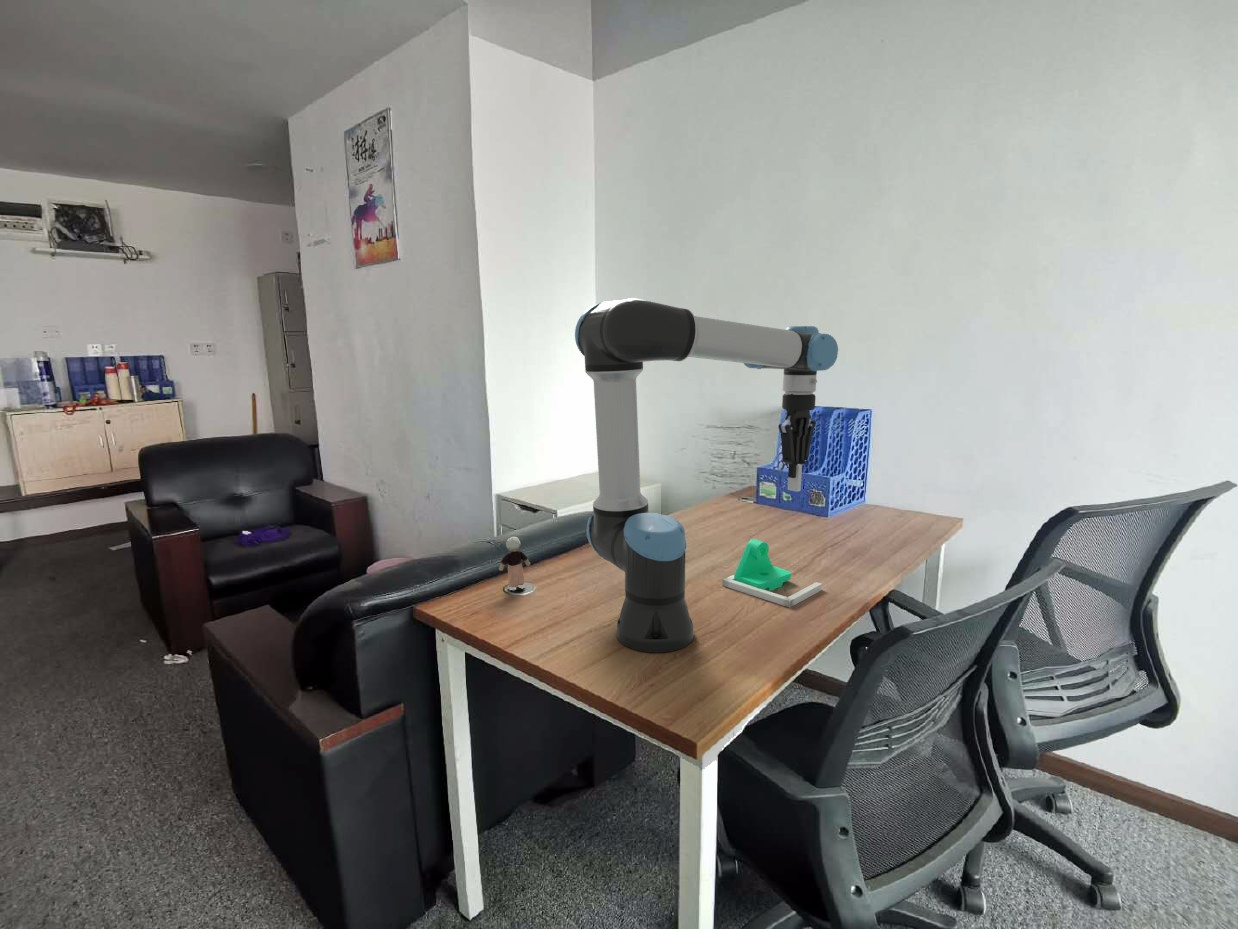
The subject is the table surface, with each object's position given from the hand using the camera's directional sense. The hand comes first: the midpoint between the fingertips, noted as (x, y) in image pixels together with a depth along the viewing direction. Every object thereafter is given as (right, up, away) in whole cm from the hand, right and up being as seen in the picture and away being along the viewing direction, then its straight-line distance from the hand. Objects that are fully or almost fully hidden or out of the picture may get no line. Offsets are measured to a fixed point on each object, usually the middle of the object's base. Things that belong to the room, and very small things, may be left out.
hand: (794, 490), depth 152 cm
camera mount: (-8, -23, -3) cm, 24 cm away
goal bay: (-7, -23, -5) cm, 24 cm away
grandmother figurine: (-67, -23, -4) cm, 71 cm away
